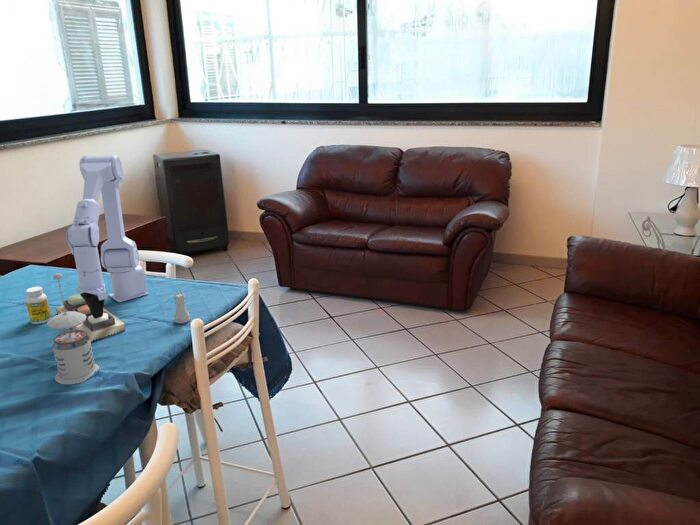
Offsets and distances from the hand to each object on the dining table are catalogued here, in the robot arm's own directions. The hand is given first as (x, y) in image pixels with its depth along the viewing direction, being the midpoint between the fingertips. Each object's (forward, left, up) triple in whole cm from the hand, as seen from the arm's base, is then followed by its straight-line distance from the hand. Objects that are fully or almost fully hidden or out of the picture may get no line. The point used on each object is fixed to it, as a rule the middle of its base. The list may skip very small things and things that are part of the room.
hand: (97, 316), depth 154 cm
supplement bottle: (+10, -19, -4) cm, 22 cm away
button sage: (0, -16, -1) cm, 16 cm away
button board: (0, -8, -4) cm, 9 cm away
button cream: (0, 0, -2) cm, 2 cm away
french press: (+12, +18, -4) cm, 22 cm away
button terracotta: (0, -8, -2) cm, 8 cm away
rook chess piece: (-19, +10, -4) cm, 22 cm away
